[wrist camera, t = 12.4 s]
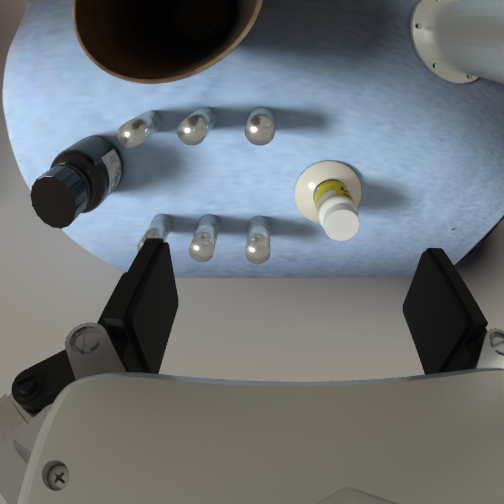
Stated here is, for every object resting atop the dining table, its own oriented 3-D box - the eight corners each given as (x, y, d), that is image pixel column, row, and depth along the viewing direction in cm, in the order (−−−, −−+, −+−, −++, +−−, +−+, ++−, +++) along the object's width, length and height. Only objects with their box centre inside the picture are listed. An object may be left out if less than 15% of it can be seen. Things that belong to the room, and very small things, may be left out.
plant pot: (241, 86, 34) (223, 106, 21) (128, 58, 32) (54, 69, 19) (284, -21, 26) (295, -67, 13) (165, -46, 24) (108, -89, 11)
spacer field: (274, 107, 36) (275, 117, 30) (269, 234, 46) (269, 264, 40) (138, 111, 36) (116, 123, 31) (154, 231, 47) (139, 259, 41)
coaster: (364, 163, 39) (366, 165, 38) (354, 223, 44) (355, 225, 43) (296, 158, 39) (297, 160, 39) (292, 220, 44) (292, 222, 44)
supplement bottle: (353, 199, 41) (370, 232, 34) (323, 216, 43) (333, 251, 36) (337, 170, 39) (351, 199, 32) (305, 188, 41) (313, 220, 34)
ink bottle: (109, 205, 44) (71, 250, 34) (64, 176, 42) (18, 215, 32) (135, 152, 40) (94, 189, 30) (86, 121, 37) (34, 149, 27)
